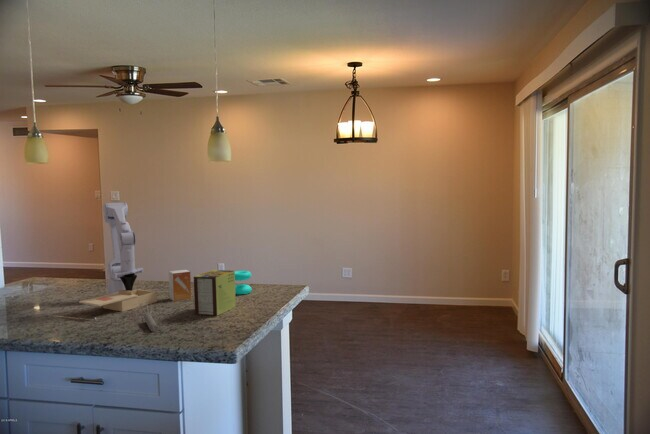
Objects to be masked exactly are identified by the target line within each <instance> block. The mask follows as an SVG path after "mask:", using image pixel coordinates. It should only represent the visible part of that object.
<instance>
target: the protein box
mask: <svg viewBox="0 0 650 434" xmlns="http://www.w3.org/2000/svg"><path fill="white" fill-rule="evenodd" d="M235 271H236V270H230V269H229V270H225V269H224V270H223V269H212V270H209V271H205V272H202V273H199V274H197V275H194V276H193V293H194V314H195V315H201V316H203V315H204V316H213V317H214V316H216V317H217V316H219V315H222V314H224V313H225V312H228V311H230V310H232V309H235V308H236V306H237V305H236V304H237V303H236V295H235V285H236V280H235Z"/></svg>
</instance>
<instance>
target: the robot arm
mask: <svg viewBox="0 0 650 434" xmlns="http://www.w3.org/2000/svg"><path fill="white" fill-rule="evenodd" d="M102 210H103V219H104V222H105V223H107V224H109V225H108V226H109V229H110V235H111V236H110V237H111V245H112V246H111V247H112V255H113V258H112V259H110V261H108V263H107V275H108V279H110V280H108V282H107V295H108V294H112V293H116V292H119V290H128V291H133V287H134V284H135V282H136V280H137V278H138V276H137V274H143V273H144V267H138V268H136V262H135V261H136V260H135V245H136V240H137V239H136V233H135V231H133V230H132V229H131V226H130V223H129V222H128V221H126V220H127V217H128V214H129V213H128V212H129V208H128V204H127V202H126V201H125V202H104V204H103V207H102Z"/></svg>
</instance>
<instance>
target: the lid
mask: <svg viewBox="0 0 650 434" xmlns="http://www.w3.org/2000/svg"><path fill="white" fill-rule="evenodd" d="M137 296H138V295H135V294H134V291H133V290H132V291H128V290H119V292H116V293H112V294H108V293H107V294H104V295H100V296H95V297H91V298H88V299H83V300H79V301H78V303H79V304H85V305H88V306H89V305H90V306H95V307H96V306H97V307H101V306H102V307H103V305H106V304H110V303H114V302H118V301H122V300H125V299H129V298H133V297H137Z"/></svg>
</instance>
